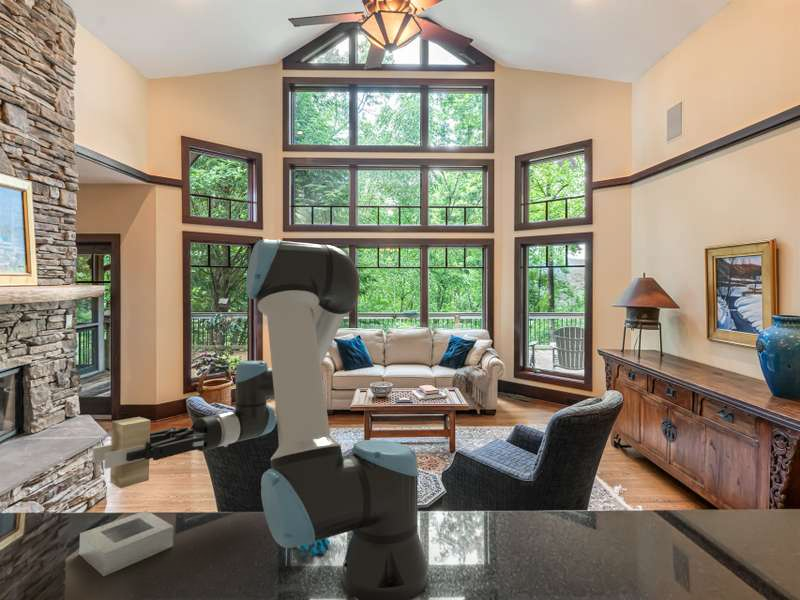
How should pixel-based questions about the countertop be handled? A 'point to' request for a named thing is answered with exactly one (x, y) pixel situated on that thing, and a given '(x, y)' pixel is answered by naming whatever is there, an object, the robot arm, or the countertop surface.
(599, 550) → the countertop surface
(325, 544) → the blue lumpy piece
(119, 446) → the upright pine post
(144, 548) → the grey square frame block
